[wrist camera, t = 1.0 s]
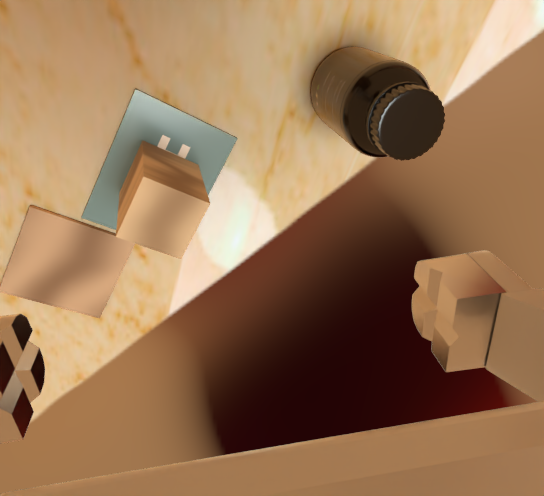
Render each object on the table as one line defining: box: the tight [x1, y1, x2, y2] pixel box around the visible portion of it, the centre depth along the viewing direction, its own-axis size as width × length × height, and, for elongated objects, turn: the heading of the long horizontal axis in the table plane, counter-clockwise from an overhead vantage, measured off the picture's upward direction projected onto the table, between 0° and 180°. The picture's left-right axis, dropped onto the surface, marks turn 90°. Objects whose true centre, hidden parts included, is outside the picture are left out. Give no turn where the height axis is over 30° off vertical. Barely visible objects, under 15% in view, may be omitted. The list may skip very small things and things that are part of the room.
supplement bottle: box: [311, 47, 445, 160], centre depth 36 cm, size 7×7×12 cm
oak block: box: [116, 141, 210, 259], centre depth 37 cm, size 5×5×8 cm
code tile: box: [82, 89, 237, 230], centre depth 41 cm, size 9×12×1 cm
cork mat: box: [0, 205, 135, 318], centre depth 43 cm, size 9×9×1 cm
